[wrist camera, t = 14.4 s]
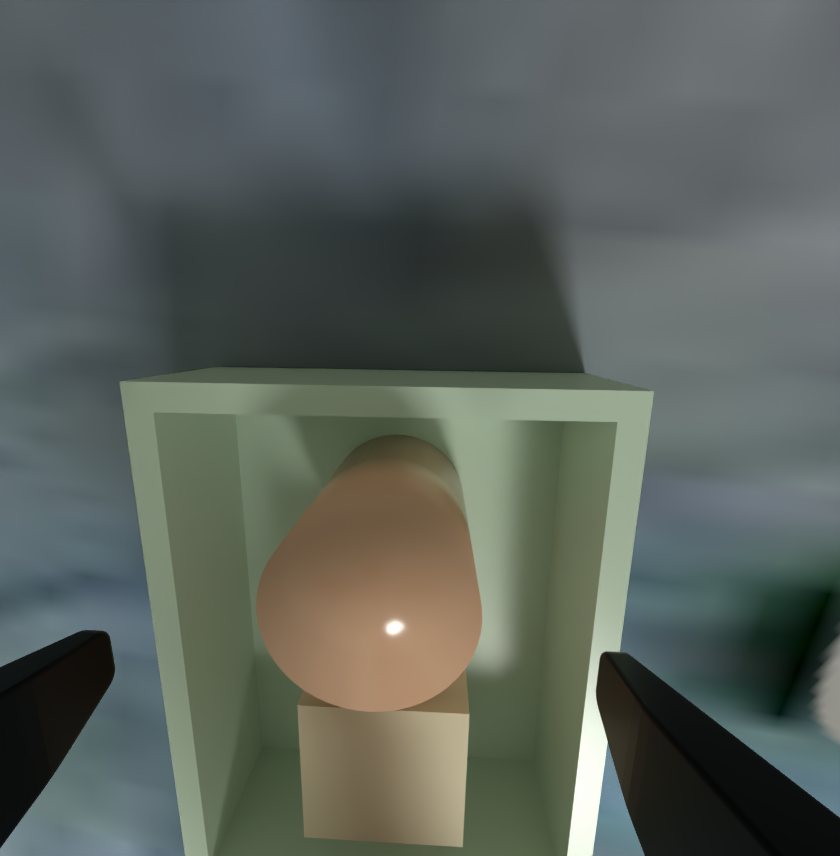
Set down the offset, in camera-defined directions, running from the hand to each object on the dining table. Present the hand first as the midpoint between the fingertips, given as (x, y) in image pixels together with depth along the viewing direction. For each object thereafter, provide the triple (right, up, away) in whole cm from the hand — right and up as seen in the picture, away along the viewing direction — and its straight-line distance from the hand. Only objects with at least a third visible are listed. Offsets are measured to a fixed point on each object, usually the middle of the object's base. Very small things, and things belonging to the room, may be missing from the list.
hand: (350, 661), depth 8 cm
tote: (0, -2, +10) cm, 10 cm away
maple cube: (0, -5, +10) cm, 11 cm away
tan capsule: (0, +2, +8) cm, 9 cm away
